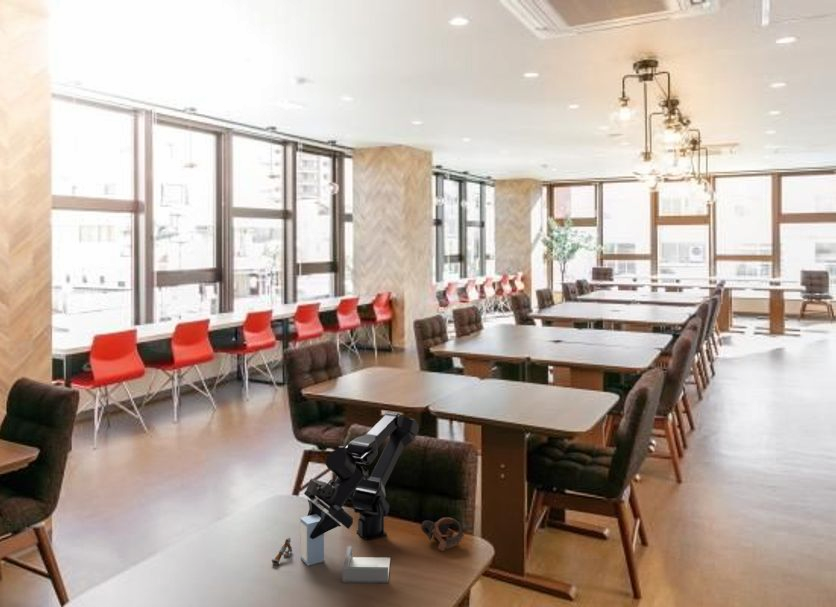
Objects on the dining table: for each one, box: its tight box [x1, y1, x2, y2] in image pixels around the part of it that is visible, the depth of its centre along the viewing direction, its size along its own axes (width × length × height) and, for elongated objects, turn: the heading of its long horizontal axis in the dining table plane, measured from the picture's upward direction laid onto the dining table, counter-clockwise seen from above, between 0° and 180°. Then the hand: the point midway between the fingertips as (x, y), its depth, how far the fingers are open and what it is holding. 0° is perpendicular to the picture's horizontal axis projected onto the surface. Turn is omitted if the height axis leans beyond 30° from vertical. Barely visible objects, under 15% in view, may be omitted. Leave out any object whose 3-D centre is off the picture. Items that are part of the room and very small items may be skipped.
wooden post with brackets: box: [271, 537, 293, 566], centre depth 173 cm, size 2×8×4 cm, turn 160°
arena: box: [342, 545, 391, 584], centre depth 167 cm, size 12×11×4 cm
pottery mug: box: [420, 516, 465, 552], centre depth 182 cm, size 12×10×8 cm
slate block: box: [299, 514, 325, 566], centre depth 172 cm, size 5×4×11 cm
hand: (307, 534), depth 171 cm, fingers closed on slate block, 4 cm apart
